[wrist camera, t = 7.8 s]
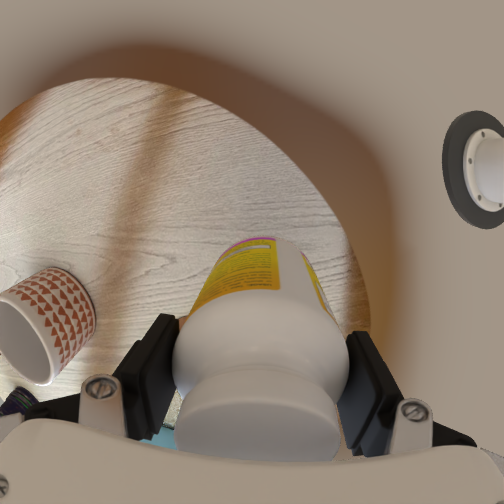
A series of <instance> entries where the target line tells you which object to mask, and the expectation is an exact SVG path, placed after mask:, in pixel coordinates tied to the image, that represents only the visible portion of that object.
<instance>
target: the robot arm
mask: <svg viewBox="0 0 504 504" xmlns="http://www.w3.org/2000/svg"><path fill="white" fill-rule="evenodd" d="M463 172H464V179H465V183H466V187H467V189H468V192H469V194H470V196H471V197H472V199H473V201H474V202H475V203H476V204H477V205H478V206H479V207H480V208H482V209H484V210H486V211H491V212H494V211H498V210H500V209H502V208H503V207H504V138H502V137H501V136H500V135H499V134H498V133H496V132H495V131H493V130H491V129H479V130H477V131H475V132H474V133H473V134H472V135H471V136H470V137H469V139H468V140H467V143H466V145H465V149H464V154H463ZM179 333H180V329H179V320H178V319H175V316H174V315H169V314H163V313H161V314H160V315H159V316H158V317H157V319H156V320H155V322H154V323H153V324H152V326H151V327H150V329H149V330H148V331H147V333H146V334H145V336H144V337H143V339H142V340H137V341H136V342H135V343H134V345H133V346H132V347H131V349H130V350H129V352H128V353H127V354H126V356H125V357H124V359H123V360H122V362H121V363H120V364H119V366H118V367H117V369H116V370H115V372H114V373H113V374H112V376H111V375H108V374H96V375H93V376H90V377H89V378H87V379H86V380H85V381H84V382H83V383H82V386H81V393H78V394H74V395H70V396H66V397H62V398H57V399H53V400H48V401H43V402H39V403H36V404H33V405H31V406H30V407H29V408H28V409H27V410H26V412H25V414H24V415H21V413H20V412H19V413H15V414H10V415H6V416H1V417H0V504H504V457H502V456H500V455H497V454H495V453H493V452H490V451H488V450H486V449H483V448H480V449H479V448H477V445H476V443H475V442H474V440H473V439H472V438H471V437H469V436H467V435H465V434H462V433H459V432H457V431H455V430H453V429H450V428H448V427H446V426H443V425H441V424H439V423H436V422H434V421H433V413H432V410H431V408H430V406H429V405H428V404H427V403H425V402H423V401H422V400H419V399H415V398H408V399H404V397H403V395H402V394H401V391H400V390H399V388H398V386H397V384H396V382H395V380H394V378H393V376H392V375H391V373H390V371H389V369H388V367H387V365H386V363H385V362H384V361H383V359H382V357H381V356H380V354H379V352H378V350H377V348H376V347H375V345H374V343H373V341H372V339H371V338H370V336H369V334H368V332H367V331H353V332H352V334H349V335H348V336H347V339H346V346H347V350H348V355H349V375H348V380H347V383H346V386H345V389H344V391H343V393H342V395H341V397H340V399H339V400H338V401H337V403H336V404H337V408H338V412H339V416H340V420H341V424H342V428H343V432H344V436H345V441H346V445H347V448H348V449H351V450H352V454H353V456H359V455H364V456H365V457H367V458H360V459H351V460H338V461H320V462H272V461H254V460H242V459H232V458H223V457H215V456H208V455H202V454H195V453H190V452H184V451H179V450H174V449H169V448H165V447H161V446H156V445H152V444H148V443H144V442H140V440H143V439H145V440H149V441H151V440H152V438H153V435H154V434H156V435H158V434H159V432H160V429H161V426H162V424H163V421H164V419H165V416H166V414H167V411H168V408H169V406H170V403H171V401H172V398H173V396H174V393H175V391H176V385H175V383H174V379H173V375H172V354H173V349H174V345H175V342H176V340H177V337H178V335H179Z"/></svg>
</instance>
